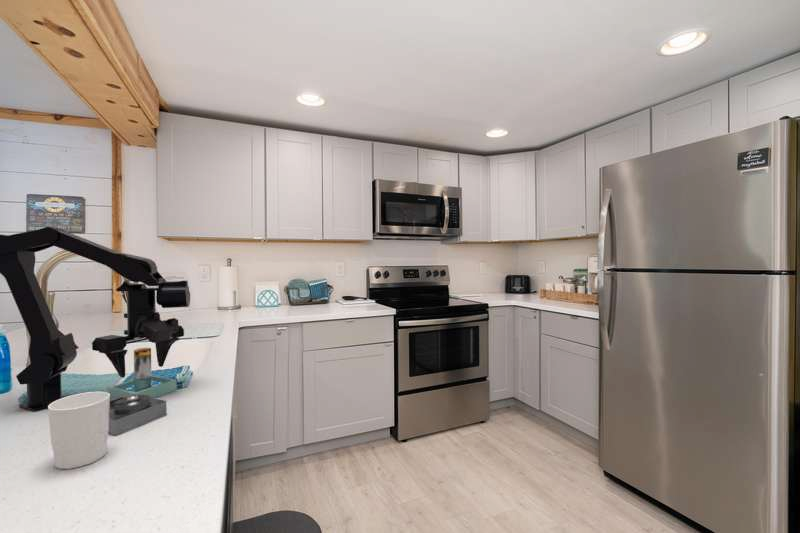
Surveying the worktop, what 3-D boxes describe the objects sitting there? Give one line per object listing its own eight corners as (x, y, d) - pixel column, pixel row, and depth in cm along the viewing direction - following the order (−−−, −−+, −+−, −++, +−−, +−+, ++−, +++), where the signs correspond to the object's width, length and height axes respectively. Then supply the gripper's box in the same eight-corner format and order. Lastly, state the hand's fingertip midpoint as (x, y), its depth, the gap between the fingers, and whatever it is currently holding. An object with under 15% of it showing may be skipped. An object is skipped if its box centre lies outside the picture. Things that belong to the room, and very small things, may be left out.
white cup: (75, 474, 58) (74, 411, 57) (36, 468, 59) (34, 407, 59) (122, 448, 65) (121, 393, 65) (86, 444, 67) (85, 389, 67)
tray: (107, 397, 88) (107, 387, 88) (150, 384, 98) (149, 374, 98) (134, 404, 84) (134, 393, 84) (176, 389, 94) (176, 379, 94)
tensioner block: (78, 424, 74) (77, 398, 74) (130, 405, 84) (130, 382, 83) (115, 435, 70) (115, 408, 70) (166, 414, 79) (166, 390, 79)
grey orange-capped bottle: (131, 392, 90) (130, 350, 90) (145, 388, 93) (145, 347, 93) (140, 395, 89) (139, 352, 88) (154, 390, 92) (154, 348, 92)
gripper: (121, 317, 79) (122, 388, 79) (198, 306, 96) (199, 365, 96) (90, 313, 83) (91, 381, 83) (169, 303, 100) (170, 360, 101)
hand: (142, 371), depth 91 cm, fingers open, 9 cm apart
